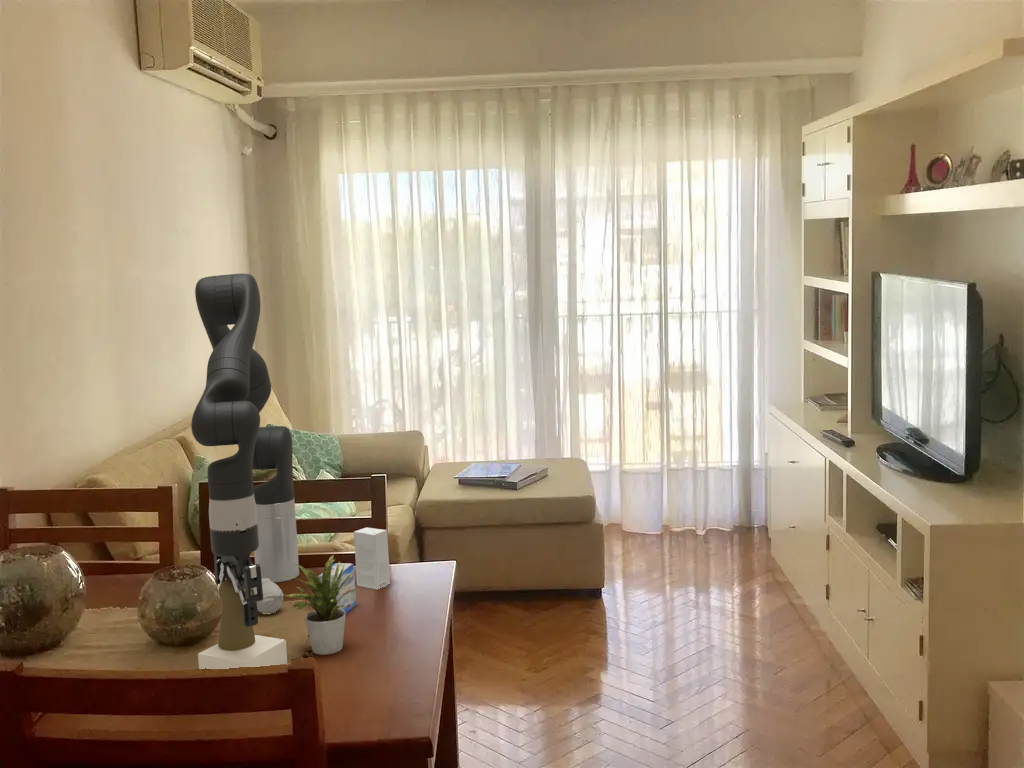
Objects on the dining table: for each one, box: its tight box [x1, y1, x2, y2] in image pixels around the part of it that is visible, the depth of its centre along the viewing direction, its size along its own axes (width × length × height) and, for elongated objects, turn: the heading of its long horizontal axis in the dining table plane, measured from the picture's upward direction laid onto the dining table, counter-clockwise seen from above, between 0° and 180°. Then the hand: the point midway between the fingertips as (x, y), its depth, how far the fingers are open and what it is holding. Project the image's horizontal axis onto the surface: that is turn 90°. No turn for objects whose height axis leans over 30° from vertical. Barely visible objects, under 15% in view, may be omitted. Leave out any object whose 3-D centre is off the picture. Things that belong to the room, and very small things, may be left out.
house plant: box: [283, 554, 360, 656], centre depth 168 cm, size 14×14×16 cm
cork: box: [217, 579, 256, 650], centre depth 158 cm, size 6×6×11 cm
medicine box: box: [317, 562, 357, 615], centre depth 186 cm, size 8×4×9 cm, turn 168°
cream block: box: [197, 634, 288, 670], centre depth 158 cm, size 10×10×5 cm
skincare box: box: [353, 527, 391, 591], centre depth 201 cm, size 6×4×12 cm
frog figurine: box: [251, 578, 285, 614], centre depth 186 cm, size 6×7×7 cm
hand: (240, 618), depth 157 cm, fingers open, 8 cm apart
